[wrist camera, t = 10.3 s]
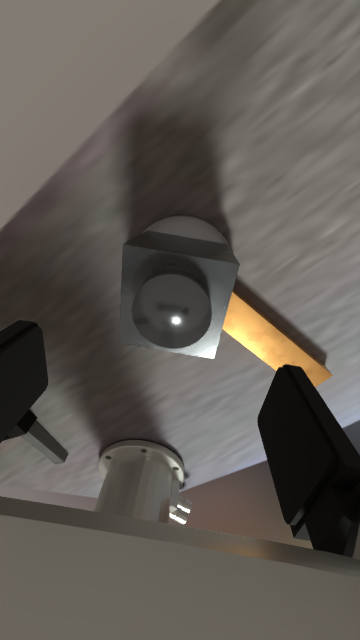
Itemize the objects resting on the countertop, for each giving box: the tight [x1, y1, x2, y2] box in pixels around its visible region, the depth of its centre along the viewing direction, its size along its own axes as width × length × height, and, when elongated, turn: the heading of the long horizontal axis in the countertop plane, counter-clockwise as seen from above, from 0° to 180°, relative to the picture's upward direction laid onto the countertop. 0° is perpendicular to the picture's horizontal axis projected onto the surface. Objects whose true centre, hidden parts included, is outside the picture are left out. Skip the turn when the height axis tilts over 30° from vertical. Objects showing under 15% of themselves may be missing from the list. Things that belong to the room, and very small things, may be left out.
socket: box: [119, 230, 240, 359], centre depth 16 cm, size 6×6×8 cm
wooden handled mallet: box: [141, 215, 333, 387], centre depth 21 cm, size 22×9×5 cm, turn 52°
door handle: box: [3, 410, 68, 464], centre depth 32 cm, size 3×20×16 cm
